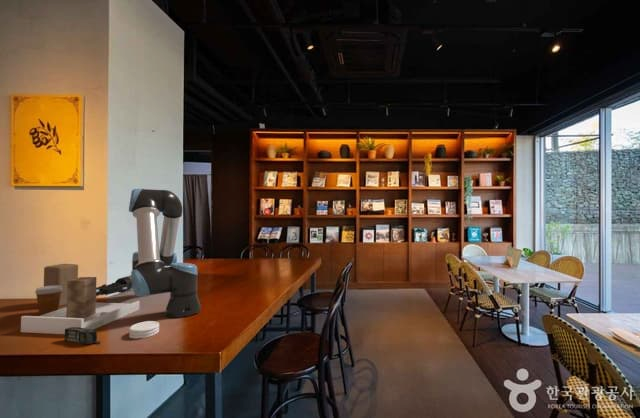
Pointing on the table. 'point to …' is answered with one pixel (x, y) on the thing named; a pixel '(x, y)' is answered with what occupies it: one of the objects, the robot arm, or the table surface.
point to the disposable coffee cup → (48, 298)
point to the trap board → (59, 322)
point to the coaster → (144, 329)
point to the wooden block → (60, 278)
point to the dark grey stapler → (81, 335)
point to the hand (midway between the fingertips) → (85, 296)
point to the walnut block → (81, 297)
